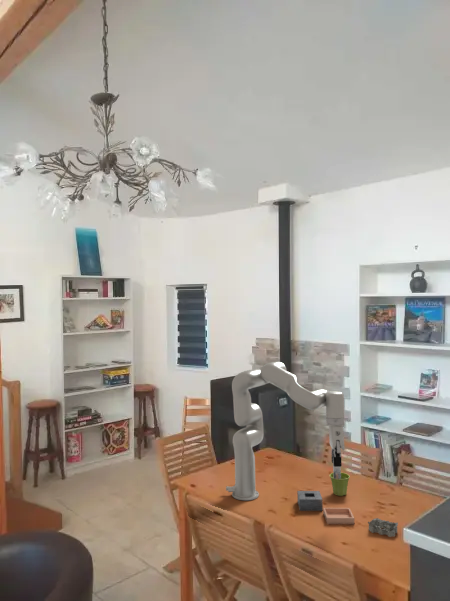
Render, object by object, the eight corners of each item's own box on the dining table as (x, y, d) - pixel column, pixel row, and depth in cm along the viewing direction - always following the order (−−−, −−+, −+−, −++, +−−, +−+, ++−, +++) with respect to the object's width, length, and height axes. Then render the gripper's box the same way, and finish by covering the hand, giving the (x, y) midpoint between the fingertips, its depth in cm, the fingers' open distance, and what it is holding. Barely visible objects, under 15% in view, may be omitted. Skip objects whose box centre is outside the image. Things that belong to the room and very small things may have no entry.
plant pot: (350, 498, 231) (350, 479, 232) (329, 496, 233) (329, 478, 233) (349, 490, 241) (349, 472, 241) (329, 489, 242) (329, 471, 243)
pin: (342, 479, 208) (341, 454, 208) (333, 479, 208) (332, 455, 208) (341, 476, 212) (340, 452, 212) (331, 476, 212) (330, 452, 212)
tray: (327, 524, 204) (326, 517, 205) (323, 513, 215) (323, 507, 215) (354, 524, 204) (354, 518, 204) (349, 513, 214) (349, 508, 214)
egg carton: (366, 532, 198) (366, 521, 198) (373, 525, 204) (373, 515, 204) (393, 538, 191) (393, 528, 191) (399, 531, 197) (399, 521, 197)
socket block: (299, 510, 218) (299, 499, 218) (297, 501, 228) (297, 490, 228) (322, 510, 218) (322, 499, 218) (319, 501, 228) (319, 490, 228)
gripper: (348, 425, 202) (349, 471, 202) (340, 416, 219) (341, 458, 218) (329, 425, 202) (330, 471, 202) (323, 416, 219) (324, 458, 219)
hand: (336, 464), depth 210 cm, fingers closed on pin, 4 cm apart
